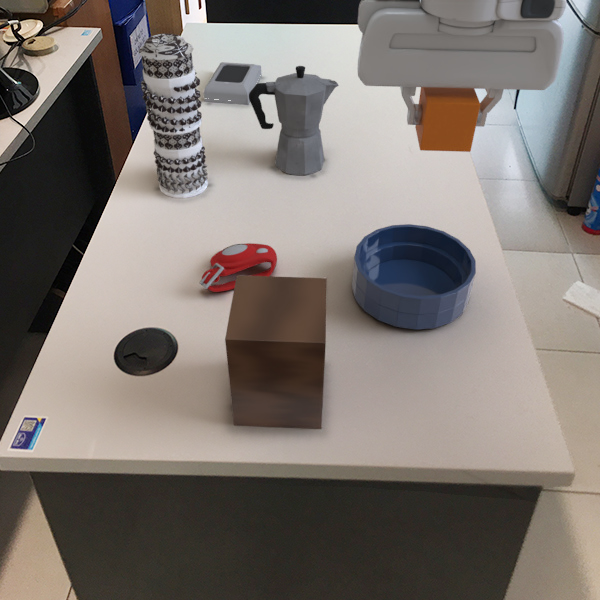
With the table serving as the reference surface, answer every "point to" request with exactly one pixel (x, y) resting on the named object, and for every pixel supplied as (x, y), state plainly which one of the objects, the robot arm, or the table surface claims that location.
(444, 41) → the robot arm
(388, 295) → the bowl
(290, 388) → the block
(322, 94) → the coffeepot
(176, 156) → the decorative candle
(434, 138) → the orange cube
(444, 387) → the table surface
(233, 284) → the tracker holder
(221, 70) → the grey electronic device
